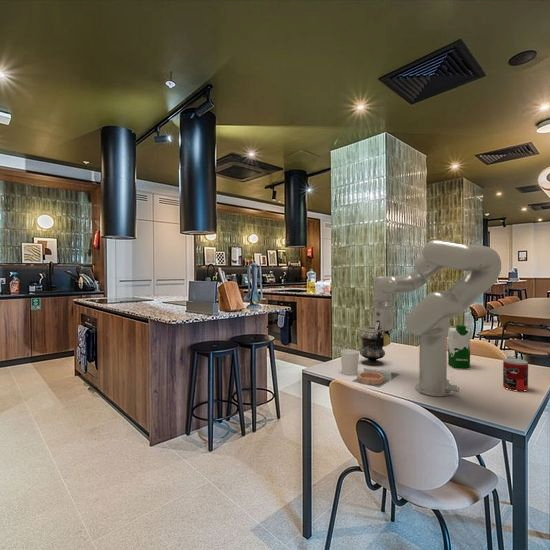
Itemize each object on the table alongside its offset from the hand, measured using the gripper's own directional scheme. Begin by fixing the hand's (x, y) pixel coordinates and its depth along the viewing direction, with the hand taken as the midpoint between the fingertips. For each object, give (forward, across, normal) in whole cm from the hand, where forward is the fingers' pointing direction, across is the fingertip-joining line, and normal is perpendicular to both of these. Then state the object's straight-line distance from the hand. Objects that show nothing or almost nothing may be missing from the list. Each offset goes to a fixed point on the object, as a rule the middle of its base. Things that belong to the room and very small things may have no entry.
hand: (383, 344), depth 154 cm
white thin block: (+13, -6, 0) cm, 15 cm away
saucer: (+13, -13, 0) cm, 18 cm away
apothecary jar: (+13, +13, +12) cm, 22 cm away
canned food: (+14, +16, -46) cm, 51 cm away
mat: (+13, -7, 0) cm, 15 cm away
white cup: (+14, -8, +12) cm, 20 cm away
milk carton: (+14, +35, -22) cm, 43 cm away
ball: (+1, 0, 0) cm, 1 cm away
